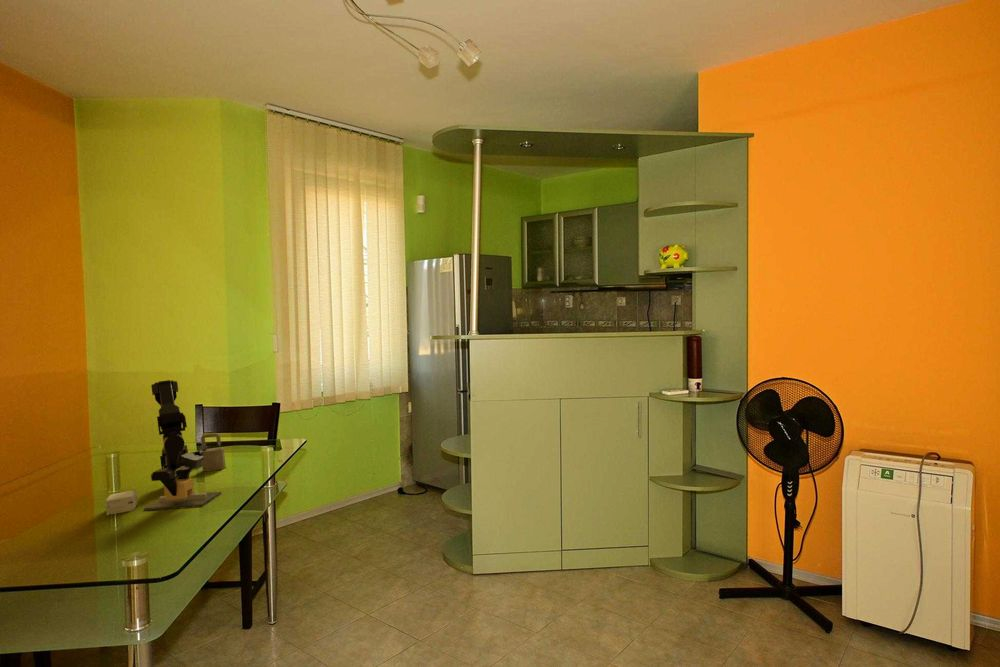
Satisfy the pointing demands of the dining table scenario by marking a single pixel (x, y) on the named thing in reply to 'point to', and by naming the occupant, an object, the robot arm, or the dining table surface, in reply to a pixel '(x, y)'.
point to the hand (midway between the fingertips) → (179, 492)
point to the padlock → (212, 454)
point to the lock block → (181, 489)
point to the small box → (121, 502)
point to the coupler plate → (183, 501)
